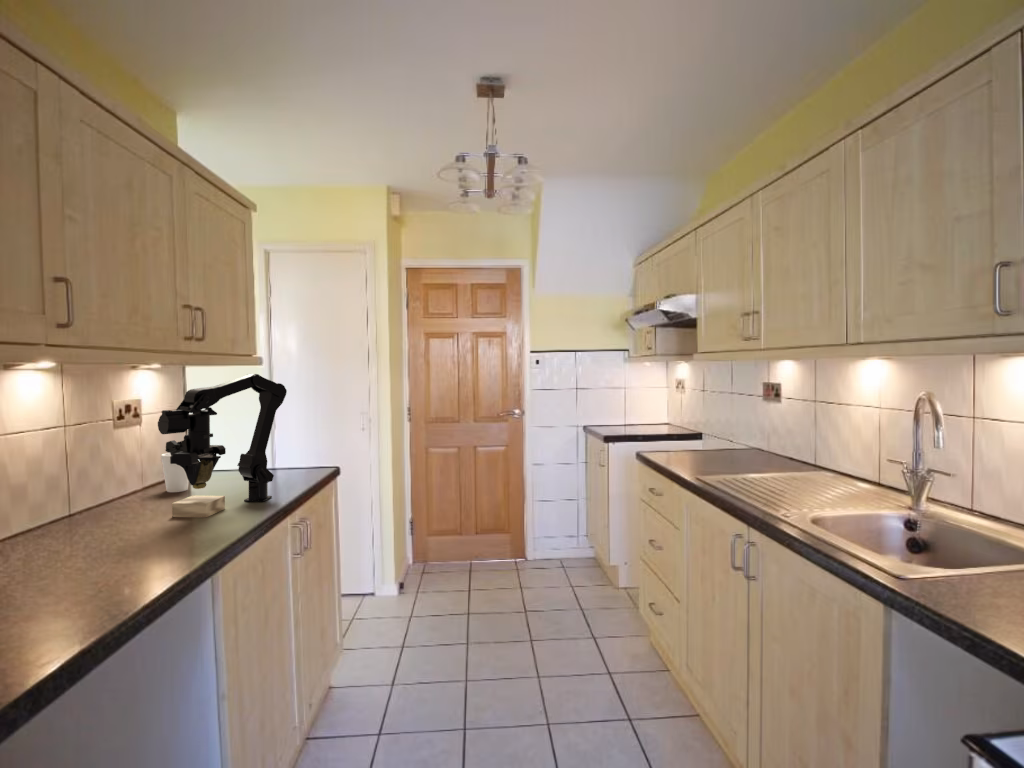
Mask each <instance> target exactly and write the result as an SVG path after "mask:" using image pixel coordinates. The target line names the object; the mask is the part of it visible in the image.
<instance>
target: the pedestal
mask: <svg viewBox="0 0 1024 768" xmlns="http://www.w3.org/2000/svg"><path fill="white" fill-rule="evenodd" d="M225 496H226V495H195V494H194V495H190V496H188V497H185V498H182V499H180V500H177V501H174V502H172V503H171V515H172V516H171V517H172V518H208V517H210V516H212V515H214V514H216V513H219V512H221V511H223V510H226V500H225V499H226V497H225Z"/></svg>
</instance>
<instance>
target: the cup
mask: <svg viewBox="0 0 1024 768" xmlns="http://www.w3.org/2000/svg"><path fill="white" fill-rule="evenodd" d="M197 462H201V466H200V470H199V473H198V477H197V480H196V483H195V485H191V486H192V488H193V489H194V490H199V489H200V490H201V489H205V488H206V487H207V482H209V481H210V480H211V477H212V475H213V471H212V469H213V461H212V460H211V461H210V463H209V460H208V461H207V462H206V461H205V460H201V461H200V460H199V459H198V461H197ZM213 470H214V469H213ZM187 479H188V477H187ZM188 481H189V479H188Z"/></svg>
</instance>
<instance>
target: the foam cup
mask: <svg viewBox="0 0 1024 768" xmlns="http://www.w3.org/2000/svg"><path fill="white" fill-rule="evenodd" d="M170 457H171V454H170V453H168V452H165V453H162V454H161V455H160V461H161V464H162V472H163V476H164V484H165V488H166V492H167V493H181V492H186V491H187V490H188V489H189V484H190V482H189V481H188V479H187V475H186V472H185V470H184V469H183V468H182V467H181V466H180V465H177V464H170Z"/></svg>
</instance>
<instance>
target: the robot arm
mask: <svg viewBox="0 0 1024 768" xmlns="http://www.w3.org/2000/svg"><path fill="white" fill-rule="evenodd" d="M248 389H252V390H253V392H256V393H258V401H259V405H260V406H259V407H260V409H259V413H258V415H257V416H258V417H257V420H256V424H255V427H254V432H253V436H252V440H251V443H250V447H249V449H248V451H247V452H245V453H241V454H240V456H239V462H238V463H237V467H238V472H239V473H240V476H241V477H242V479H243V481H244V482H248V497H247V498H245V499H243V502H254V503H255V502H256V503H257V502H260V503H263V502H266V501H267V500H270V499H271V498H273V496H272V495H268V487H269V486H268V485H269V483H270V482H273V479H274V476H275V475H274V473H272V472H271V471H270V470H269V469H268V458H267V454H266V452H267V451H266V450H267V447H268V444H269V440H270V435H271V431H272V427H273V424H274V421H275V417H276V416H275V415H276V413H277V410H278V409H279V408H280V406H281V405H282V404H283V403H284V401H285V398H286V396H287V394H288V393H287V391H288V390H287V389H286V386H285V385H284V384H282V383H278V382H275V381H273V380H270V379H268V378H265V377H263V376H261V375H260V374H257V373H247V374H246V375H243V376H241V377H237V378H235V379H232V380H229V381H225V382H223V383H220V384H217V385H214V386H213V385H212V386H207V387H205V386H204V387H198V388H191V389H189V390H187V391H186V392H185V394H184V396H183V397H184V398H183V400H182V401H181V402H180V404H179V405H178V407H176V409H175V410H169V409H166V410H165V409H164V410H161V415H160V416H159V418H158V421H157V428H158V432H159V433H160V434H161V435H171V434H182V433H186V432H187V434H184V436H183V440H181V441H178V442H177V441H176V440H169V441H166V442H165V449H164V450H165V453H170V454H171V457H170V464H177V465H180V466H181V467H182V468H183V469H184V470H185V472H186V475H187V477H188V479H189V485H190V486H192V485H195V483H196V480H197V477H198V473H199V470H200V466H201V462H200V461H201V460H205V461H206V462H207V461H208V460H209V463H210V461H211V460H212V461H213V469H212V472H214V469H215V467H216V465H217V463H218V462H219V460H220V459H221V456H224V455H226V447H225V445H223V444H222V445H221V444H219V445H218V444H211V438H213V437H214V433H213V432H212V433H211V420H210V419H211V416H217V415H218V412H217V411H216V410H214V409H213V408H212V406H213V405H215V404H217V403H218V402H219V401H221V400H222V399H224V398H226V397H230V396H231V395H234V394H237V393H240V392H243V391H246V390H248ZM198 460H199V462H197V461H198Z"/></svg>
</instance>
